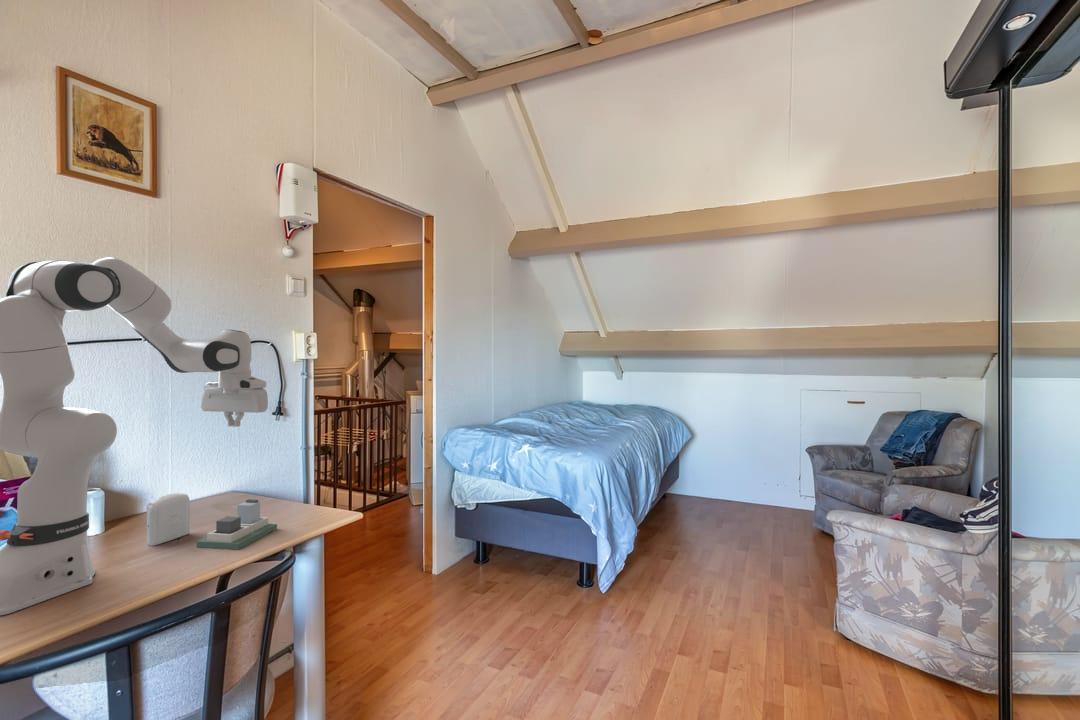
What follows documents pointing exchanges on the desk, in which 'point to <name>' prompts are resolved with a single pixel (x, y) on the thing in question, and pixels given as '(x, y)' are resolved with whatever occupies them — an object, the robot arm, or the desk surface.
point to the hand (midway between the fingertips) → (234, 426)
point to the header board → (235, 533)
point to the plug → (249, 511)
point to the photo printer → (168, 518)
